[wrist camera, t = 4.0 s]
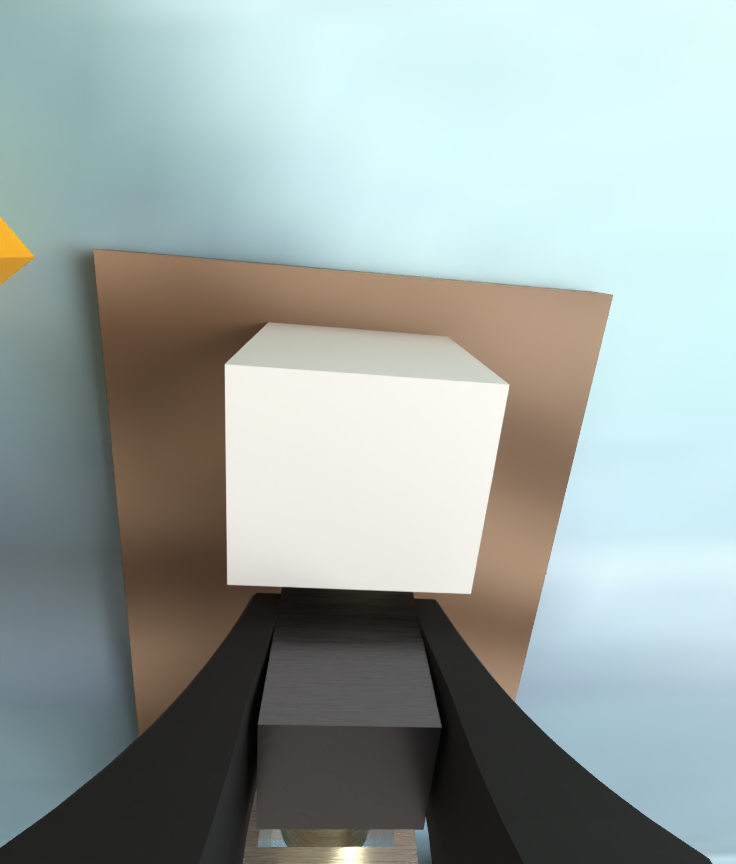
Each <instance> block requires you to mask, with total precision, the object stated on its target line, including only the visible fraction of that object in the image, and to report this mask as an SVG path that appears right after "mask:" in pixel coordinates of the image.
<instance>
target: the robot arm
mask: <svg viewBox="0 0 736 864" xmlns="http://www.w3.org/2000/svg"><path fill="white" fill-rule="evenodd" d="M280 595H281V594H280V593H255V594H254V595H253V596H252V597H251V599H250V600H249V602H248V604H247V606H246V608H245V609H244V611H243V613H242V614H241V616H240V617H239V619H238V620H237V622H236V623H235V625H234V626H233V628H232V629H231V631H230V632H229V634H228V635H227V636H226V638H225V639H224V641H223V642H222V643H221V645H220V646H219V647H218V649H217V650H216V651H215V653H214V654H213V656H212V657H211V658H210V659H209V661H208V662H207V663H206V664H205V666H204V667H203V668H202V669H201V670H200V672H199V673H198V674H197V675H196V676H195V678H194V679H193V680H192V681H191V682H190V684H189V685H188V686H187V687H186V688H185V690H184V691H183V692H182V693H181V694H180V695H179V696H178V697H177V698H176V700H175V701H174V702H173V703H172V704H171V705H170V706H169V707H168V708H167V709H166V710H165V711H164V712H163V713H162V714H161V715H160V716H159V718H158V719H157V720H156V721H155V722H154V723H153V724H152V725H151V726H150V727H149V728H148V729H147V730H145V731H144V732H143V733H142V734H141V735H140V736H139V737H138V738H137V739H136V740H135V741H134V742H133V743H132V744H131V745H130V746H129V747H127V748H126V749H125V750H124V751H123V752H122V753H121V754H120V755H119V756H118V757H117V758H115V759H114V760H113V761H112V762H111V763H110V764H109V765H107V766H106V767H105V768H104V769H103V770H102V771H100V772H99V773H98V774H97V775H95V776H94V777H93V778H92V779H91V780H89V781H88V782H87V783H86V784H84V785H83V786H82V787H81V788H79V789H78V790H77V791H76V792H75V793H73V794H72V795H71V796H70V797H68V798H67V799H66V800H65V801H63V802H62V803H61V804H60V805H59V806H57V807H56V808H55V809H53V810H52V811H51V812H49V813H48V814H47V815H45V816H44V817H43V818H41V819H40V820H39V821H37V822H36V823H34V824H33V825H32V826H30V827H29V828H27V829H26V830H25V831H23V832H22V833H20V834H19V835H18V836H16V837H15V838H13V839H12V840H11V841H9V842H8V843H6V844H5V845H4V846H2V847H1V848H0V864H243V858H244V851H245V844H246V837H247V832H248V826H249V821H250V816H251V810H252V806H253V801H254V797H255V793H256V788H257V741H258V720H259V714H260V709H261V703H262V697H263V692H264V686H265V680H266V675H267V669H268V663H269V658H270V652H271V646H272V641H273V635H274V629H275V623H276V619H277V615H278V606H279V601H280ZM414 600H415V604H416V609H417V614H418V615H417V619H418V622H419V625H420V628H421V632H422V637H423V642H424V647H425V651H426V656H427V661H428V665H429V670H430V675H431V679H432V684H433V689H434V693H435V698H436V703H437V707H438V712H439V717H440V722H441V726H442V729H441V735H440V740H439V746H438V751H437V757H436V762H435V768H434V773H433V779H432V784H431V790H430V795H429V801H428V806H427V812H426V820H427V826H428V832H429V840H430V849H431V858H432V864H712V862H711V861H710V859H709V858H707V857H706V856H704V855H703V854H701V853H700V852H698V851H697V850H695V849H694V848H692V847H691V846H689V845H688V844H686V843H685V842H683V841H682V840H680V839H679V838H677V837H676V836H674V835H673V834H671V833H670V832H669V831H667V830H666V829H664V828H663V827H661V826H660V825H658V824H657V823H655V822H654V821H652V820H651V819H649V818H648V817H646V816H645V815H644V814H642V813H641V812H640V811H638V810H637V809H636V808H634V807H633V806H632V805H630V804H629V803H628V802H626V801H625V800H624V799H622V798H621V797H620V796H618V795H617V794H616V793H614V792H613V791H612V790H610V789H609V788H608V787H607V786H605V785H604V784H603V783H602V782H600V781H599V780H598V779H597V778H595V777H594V776H593V775H592V774H591V773H589V772H588V771H587V770H586V769H585V768H584V767H582V766H581V765H580V764H579V763H578V762H577V761H575V760H574V759H573V758H572V757H571V756H570V755H568V754H567V753H566V752H565V751H564V750H563V749H562V748H560V747H559V746H558V745H557V744H556V743H555V742H554V741H553V740H552V739H551V738H550V737H549V736H547V735H546V734H545V733H544V732H543V731H542V730H541V729H540V728H539V727H538V726H537V725H536V724H535V723H534V722H533V721H532V720H531V719H530V718H529V717H528V716H527V715H526V714H525V713H524V712H523V711H522V709H521V708H520V707H519V706H518V705H517V704H516V703H515V702H514V701H513V700H512V699H511V697H510V696H509V695H508V694H507V693H506V692H505V690H504V689H503V688H502V687H501V686H500V685H499V684H498V682H497V681H496V680H495V679H494V678H493V676H492V675H491V674H490V673H489V672H488V670H487V669H486V668H485V666H484V665H483V664H482V663H481V661H480V660H479V659H478V657H477V656H476V655H475V654H474V652H473V651H472V650H471V648H470V647H469V646H468V644H467V643H466V642H465V640H464V639H463V638H462V636H461V635H460V633H459V632H458V631H457V629H456V628H455V626H454V625H453V623H452V622H451V621H450V619H449V618H448V616H447V615H446V613H445V612H444V610H443V609H442V607H441V606H440V604H439V603H438V602H437V601H436V599H415V598H414Z"/></svg>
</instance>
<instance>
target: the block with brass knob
mask: <svg viewBox="0 0 736 864" xmlns="http://www.w3.org/2000/svg"><path fill="white" fill-rule="evenodd" d="M417 615H418V614H417V609H416V604H415V600H414V595H413V592H405V591H379V590H353V589H326V588H300V587H282V589H281V595H280V601H279V606H278V615H277V619H276V623H275V629H274V635H273V641H272V646H271V652H270V658H269V663H268V669H267V675H266V680H265V686H264V692H263V697H262V703H261V709H260V714H259V720H258V741H257V809H256V829H280V831H281V834H282V837H283V839H284V841H285V843H286V845H287V846H288V847H361V846H362V845H363V844H364V842H365V840H366V839H367V836H368V834H369V831H370V829H413V830H423V829H424V823H425V818H426V812H427V806H428V801H429V795H430V790H431V784H432V779H433V773H434V768H435V762H436V757H437V751H438V746H439V740H440V735H441V729H442V726H441V722H440V717H439V712H438V707H437V703H436V698H435V693H434V689H433V684H432V679H431V675H430V670H429V665H428V661H427V656H426V651H425V647H424V642H423V637H422V632H421V628H420V625H419V622H418V619H417Z"/></svg>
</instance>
